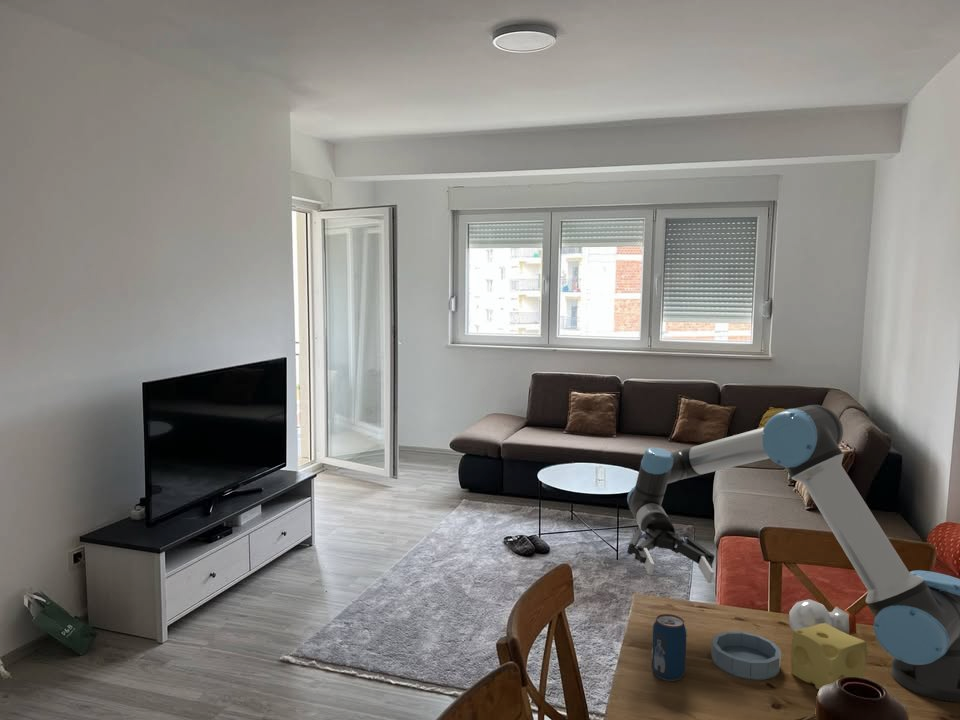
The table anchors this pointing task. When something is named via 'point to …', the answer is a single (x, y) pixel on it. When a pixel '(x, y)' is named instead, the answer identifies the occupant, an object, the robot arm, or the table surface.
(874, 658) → the table surface
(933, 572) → the robot arm
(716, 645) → the bowl
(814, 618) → the potion bottle
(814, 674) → the cheese
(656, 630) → the soda can
